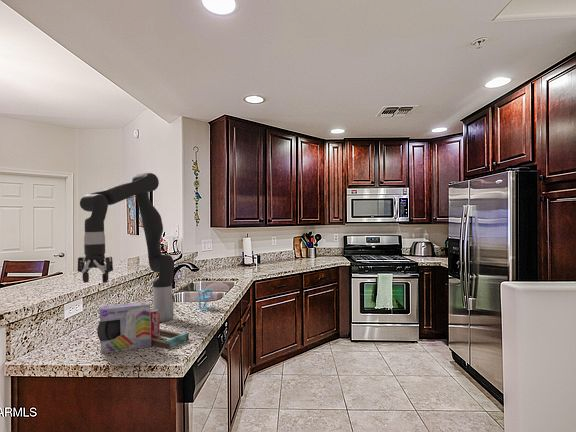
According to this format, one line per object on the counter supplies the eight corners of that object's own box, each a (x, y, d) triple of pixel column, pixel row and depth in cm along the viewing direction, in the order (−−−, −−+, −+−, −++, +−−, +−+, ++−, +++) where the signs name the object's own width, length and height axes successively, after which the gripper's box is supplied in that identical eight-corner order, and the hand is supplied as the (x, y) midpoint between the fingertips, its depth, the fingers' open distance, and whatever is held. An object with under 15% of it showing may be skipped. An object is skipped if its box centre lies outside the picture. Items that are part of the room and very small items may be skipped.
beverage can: (161, 335, 152) (161, 308, 153) (156, 340, 146) (156, 311, 146) (147, 335, 152) (147, 308, 152) (141, 340, 146) (141, 312, 146)
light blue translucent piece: (207, 307, 204) (206, 286, 204) (215, 309, 198) (214, 288, 198) (195, 309, 198) (195, 288, 198) (203, 311, 192) (203, 290, 193)
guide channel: (154, 332, 157) (154, 325, 157) (188, 340, 146) (188, 332, 146) (132, 340, 147) (132, 333, 147) (167, 348, 136) (167, 341, 136)
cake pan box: (96, 354, 132) (97, 308, 132) (99, 349, 136) (99, 304, 136) (151, 348, 138) (151, 303, 138) (151, 343, 143) (151, 300, 143)
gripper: (116, 242, 145) (117, 280, 145) (85, 242, 147) (86, 280, 147) (104, 243, 137) (105, 284, 137) (72, 243, 139) (73, 284, 139)
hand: (95, 282), depth 142 cm, fingers open, 8 cm apart
